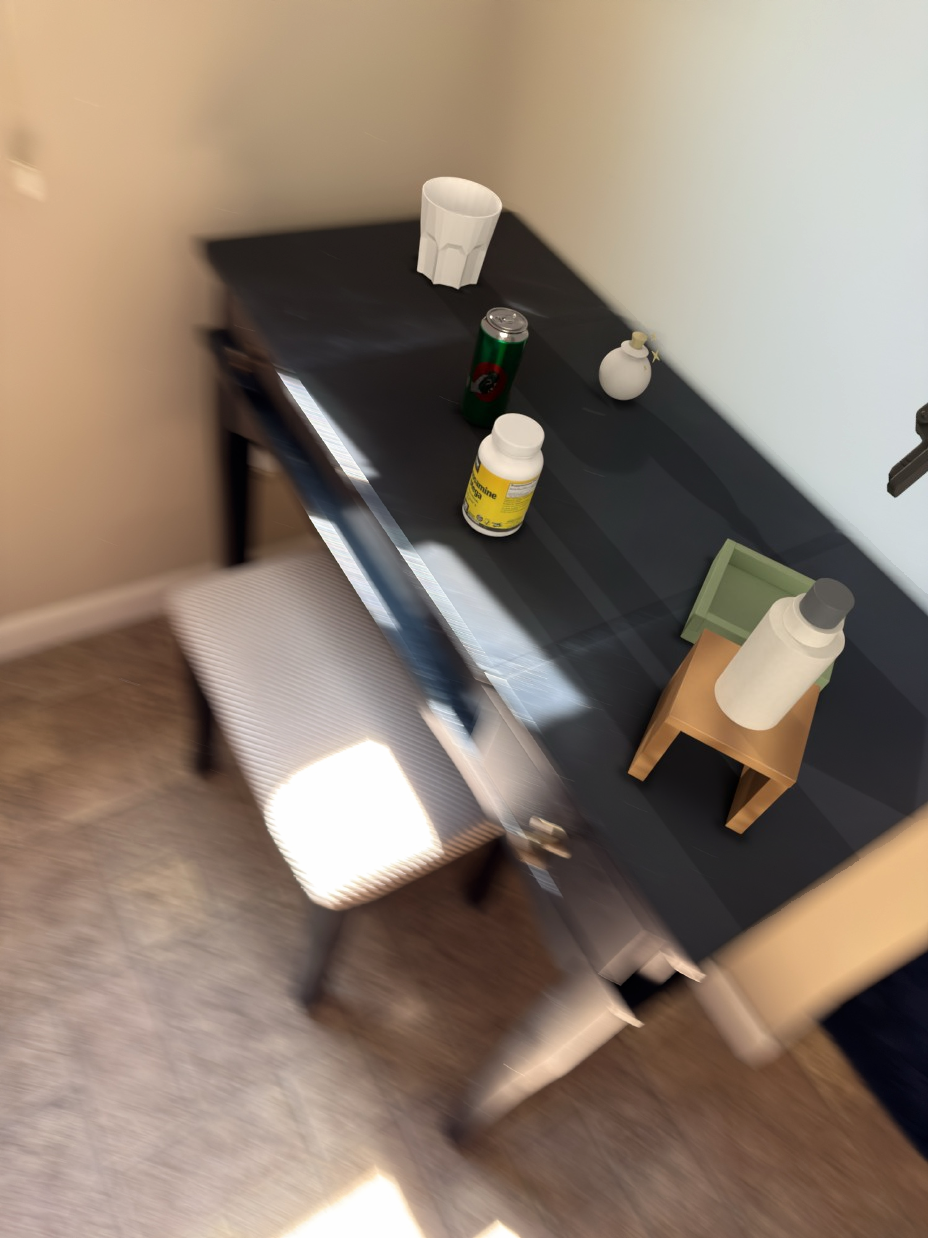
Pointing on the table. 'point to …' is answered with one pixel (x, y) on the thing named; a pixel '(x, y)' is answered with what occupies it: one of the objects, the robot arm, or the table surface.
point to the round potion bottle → (627, 368)
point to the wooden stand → (727, 731)
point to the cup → (455, 229)
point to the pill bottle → (504, 476)
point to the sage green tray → (743, 596)
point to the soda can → (494, 366)
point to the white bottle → (784, 655)
